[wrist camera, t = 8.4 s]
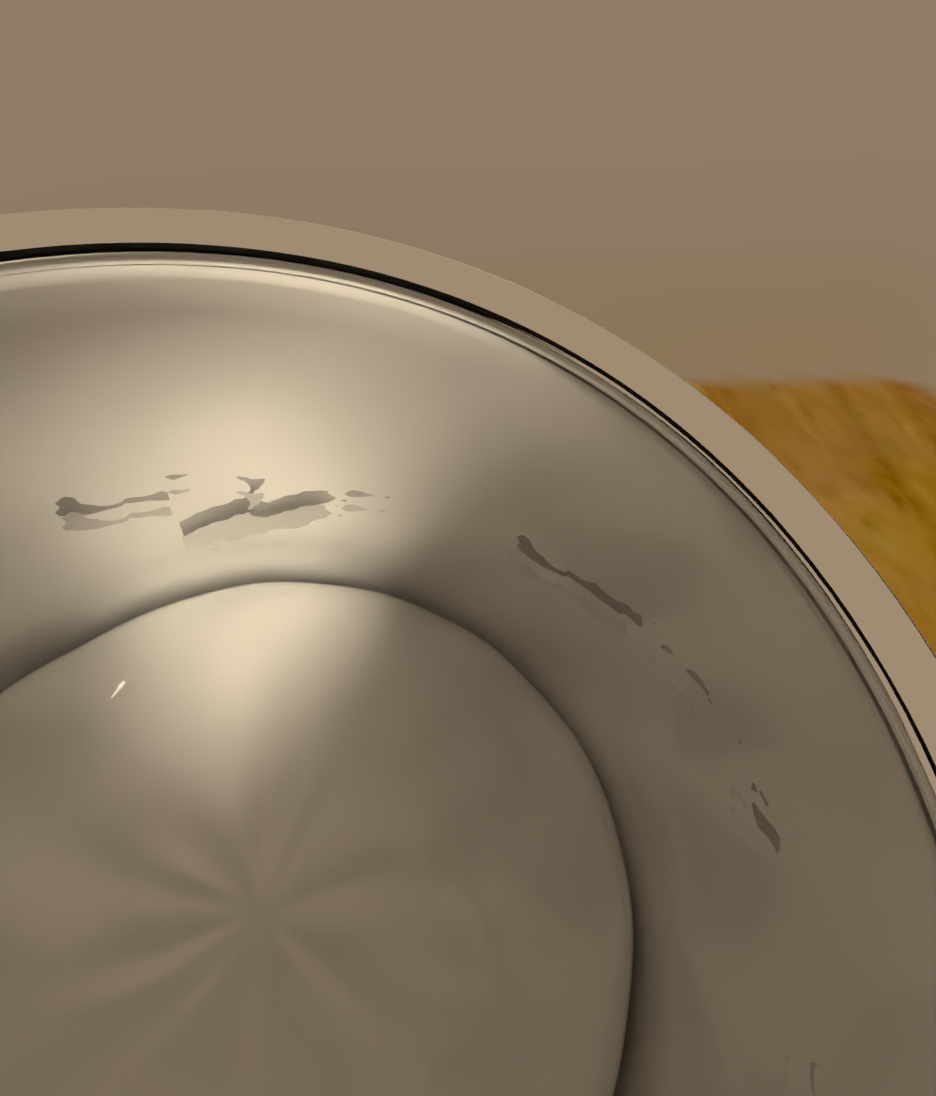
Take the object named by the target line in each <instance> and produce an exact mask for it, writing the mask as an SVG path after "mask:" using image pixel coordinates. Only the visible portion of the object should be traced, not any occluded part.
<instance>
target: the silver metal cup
mask: <svg viewBox="0 0 936 1096" xmlns="http://www.w3.org/2000/svg"><path fill="white" fill-rule="evenodd" d="M0 1096H936V656H935V655H934V653H933V651H932V650H931V648H930V647H929V645H928V644H927V642H926V640H925V639H924V637H923V636H922V634H921V633H920V631H919V630H918V628H917V627H916V625H915V624H914V622H913V621H912V619H911V618H910V616H909V615H908V614H907V612H906V611H905V609H904V608H903V606H902V605H901V603H900V602H899V600H898V599H897V598H896V596H895V595H894V594H893V592H892V591H891V589H890V588H889V587H888V585H887V584H886V583H885V581H884V580H883V578H882V577H881V576H880V574H879V573H878V572H877V570H876V569H875V568H874V567H873V565H872V564H871V563H870V561H869V560H868V559H867V558H866V556H865V555H864V554H863V553H862V551H861V550H860V549H859V547H858V546H857V545H856V544H855V543H854V541H853V540H852V539H851V538H850V537H849V536H848V534H847V533H846V532H845V531H844V530H843V528H842V527H841V526H840V525H839V524H838V523H837V521H836V520H835V519H834V518H833V517H832V516H831V515H830V514H829V512H828V511H827V510H826V509H825V508H824V507H823V506H822V505H821V503H820V502H819V501H818V500H817V499H816V498H815V497H814V496H813V495H812V494H811V493H810V491H809V490H808V489H807V488H806V487H805V486H804V485H803V484H802V483H801V482H800V481H799V480H798V479H797V478H796V477H795V476H794V475H793V474H792V473H791V472H790V471H789V470H788V469H787V468H786V467H785V466H784V465H783V464H782V463H781V462H780V461H779V460H778V459H777V458H776V457H775V456H774V455H773V454H772V453H771V452H770V451H769V450H768V449H767V448H765V447H764V446H763V445H762V444H761V443H760V442H759V441H758V440H757V439H755V438H754V437H753V436H752V435H751V434H750V433H749V432H748V431H747V430H746V429H744V428H743V427H742V426H741V425H740V424H738V423H737V422H736V421H735V420H734V419H732V418H731V417H730V416H729V415H728V414H726V413H725V412H724V411H723V410H722V409H720V408H719V407H718V406H717V405H715V404H714V403H713V402H712V401H710V400H709V399H708V398H707V397H705V396H704V395H703V394H702V393H700V392H699V391H698V390H696V389H695V388H694V387H692V386H691V385H690V384H688V383H687V382H686V381H684V380H683V379H681V378H680V377H679V376H677V375H676V374H675V373H673V372H672V371H670V370H669V369H667V368H666V367H665V366H663V365H661V364H660V363H659V362H657V361H656V360H654V359H653V358H651V357H650V356H648V355H647V354H645V353H644V352H642V351H641V350H639V349H637V348H636V347H634V346H633V345H631V344H630V343H628V342H627V341H625V340H623V339H622V338H620V337H618V336H616V335H615V334H613V333H611V332H610V331H608V330H606V329H605V328H603V327H601V326H599V325H598V324H596V323H594V322H592V321H590V320H588V319H586V318H585V317H583V316H581V315H579V314H577V313H575V312H574V311H572V310H570V309H568V308H565V307H564V306H562V305H560V304H558V303H556V302H554V301H552V300H549V299H547V298H545V297H543V296H541V295H539V294H537V293H535V292H533V291H531V290H529V289H527V288H524V287H522V286H519V285H517V284H515V283H513V282H510V281H507V280H505V279H503V278H500V277H498V276H496V275H493V274H491V273H488V272H486V271H483V270H480V269H478V268H475V267H473V266H470V265H467V264H464V263H461V262H458V261H456V260H452V259H450V258H447V257H444V256H441V255H438V254H434V253H431V252H428V251H425V250H422V249H418V248H415V247H412V246H408V245H405V244H401V243H397V242H394V241H390V240H387V239H382V238H379V237H375V236H371V235H367V234H363V233H358V232H353V231H349V230H344V229H340V228H335V227H329V226H325V225H319V224H314V223H309V222H302V221H296V220H289V219H283V218H275V217H268V216H260V215H252V214H243V213H233V212H223V211H211V210H196V209H177V208H176V209H175V208H137V207H114V208H78V209H56V210H42V211H26V212H15V213H5V214H0Z"/></svg>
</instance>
